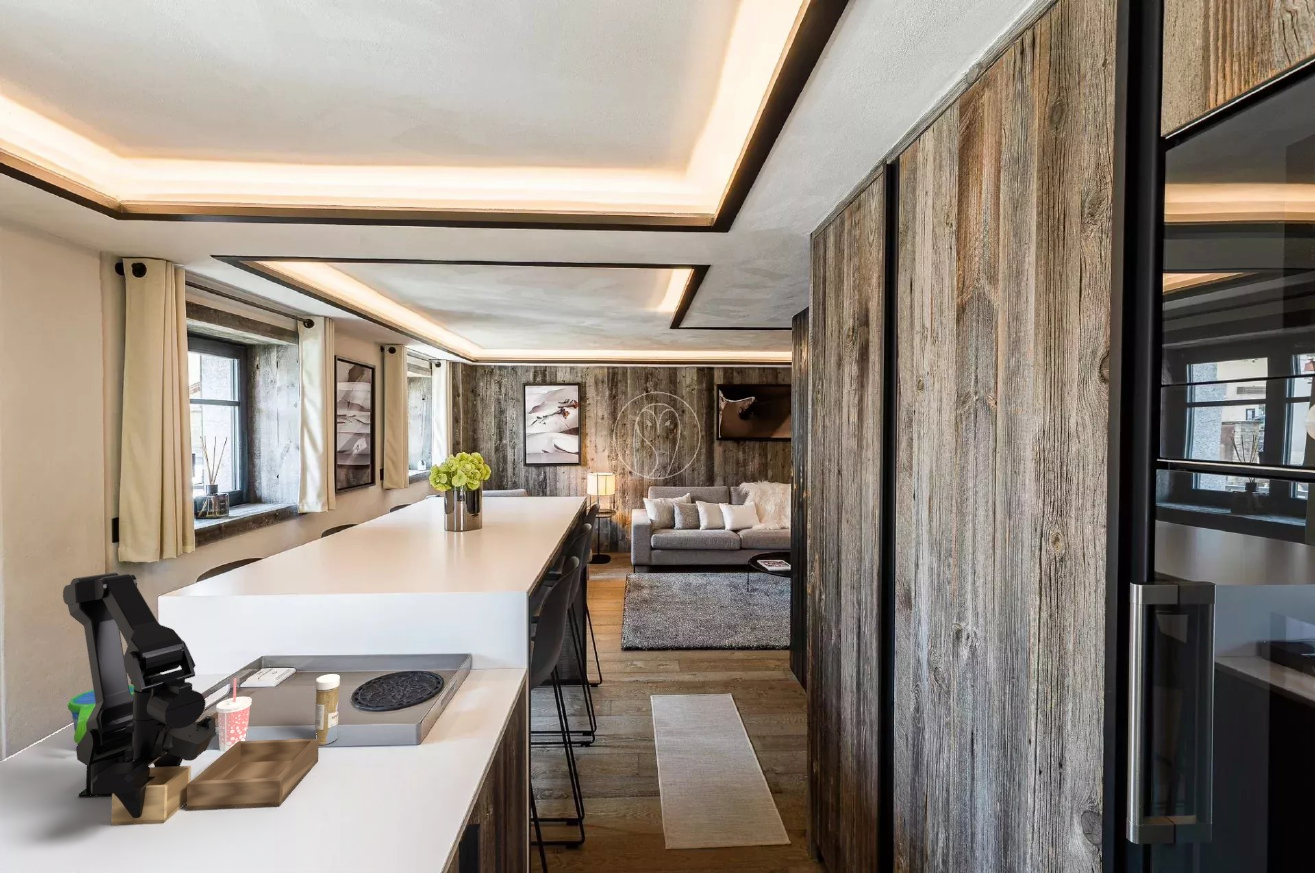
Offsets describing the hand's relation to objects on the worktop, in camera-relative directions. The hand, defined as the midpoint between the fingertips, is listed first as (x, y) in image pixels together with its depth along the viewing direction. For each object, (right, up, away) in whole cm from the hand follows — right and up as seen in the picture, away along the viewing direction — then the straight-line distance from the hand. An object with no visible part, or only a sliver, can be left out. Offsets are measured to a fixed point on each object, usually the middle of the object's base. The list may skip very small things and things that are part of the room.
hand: (152, 804), depth 103 cm
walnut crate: (+12, -2, +9) cm, 15 cm away
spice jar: (+16, -2, +25) cm, 30 cm away
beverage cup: (-2, -2, +22) cm, 23 cm away
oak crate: (0, -1, 0) cm, 1 cm away
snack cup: (-29, -1, +22) cm, 37 cm away
